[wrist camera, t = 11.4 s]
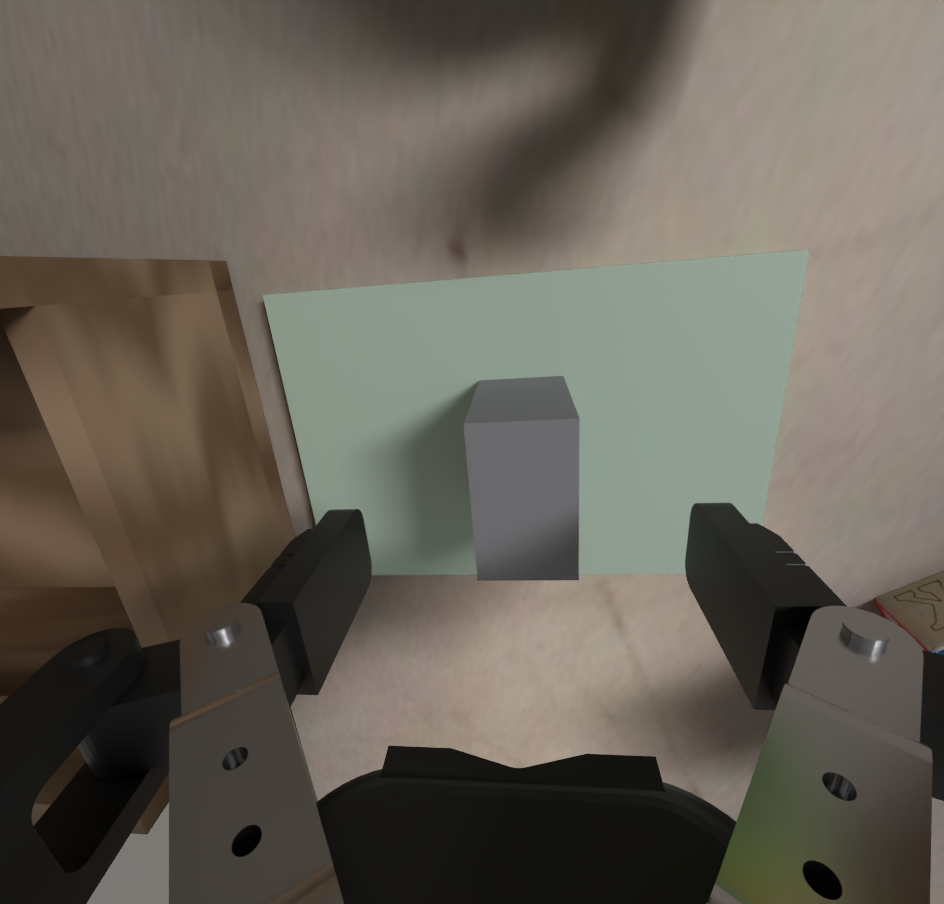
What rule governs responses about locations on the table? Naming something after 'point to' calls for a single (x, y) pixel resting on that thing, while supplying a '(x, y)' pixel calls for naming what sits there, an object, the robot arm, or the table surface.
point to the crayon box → (125, 461)
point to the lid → (541, 410)
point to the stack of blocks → (918, 611)
